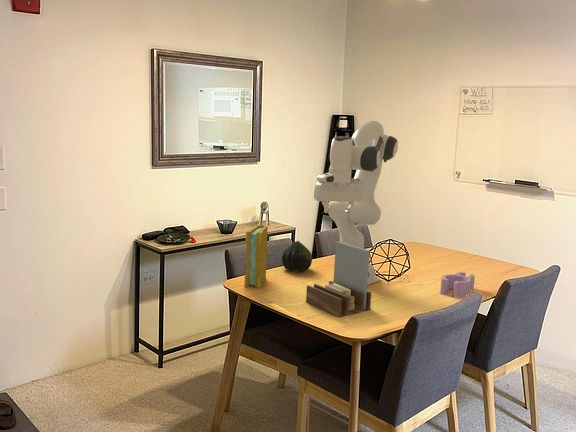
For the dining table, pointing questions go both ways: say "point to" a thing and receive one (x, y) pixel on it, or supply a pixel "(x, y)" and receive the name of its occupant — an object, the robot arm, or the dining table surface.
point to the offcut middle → (351, 299)
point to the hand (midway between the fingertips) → (337, 212)
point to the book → (256, 255)
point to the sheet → (351, 267)
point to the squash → (297, 257)
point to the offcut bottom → (351, 306)
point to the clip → (457, 284)
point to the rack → (336, 300)
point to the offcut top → (339, 289)
